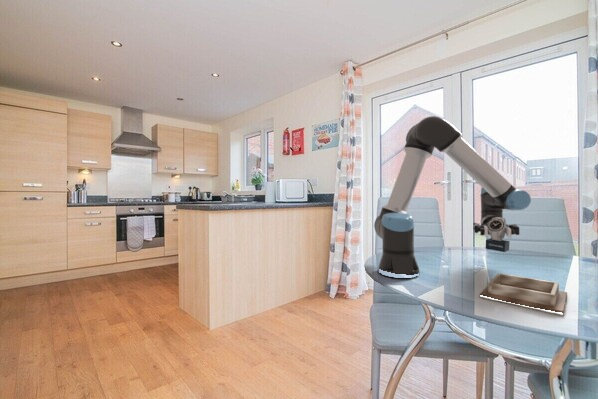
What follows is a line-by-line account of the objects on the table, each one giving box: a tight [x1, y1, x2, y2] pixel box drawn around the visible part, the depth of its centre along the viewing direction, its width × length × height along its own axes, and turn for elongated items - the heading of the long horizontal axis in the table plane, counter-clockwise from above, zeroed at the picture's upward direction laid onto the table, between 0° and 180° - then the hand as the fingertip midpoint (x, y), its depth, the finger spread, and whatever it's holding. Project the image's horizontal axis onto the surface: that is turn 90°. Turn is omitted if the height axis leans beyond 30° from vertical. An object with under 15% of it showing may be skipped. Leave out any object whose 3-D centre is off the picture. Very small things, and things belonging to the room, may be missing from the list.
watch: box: [485, 217, 510, 253], centre depth 94 cm, size 6×8×11 cm
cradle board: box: [479, 273, 568, 313], centre depth 82 cm, size 18×18×4 cm
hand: (497, 232), depth 90 cm, fingers closed on watch, 5 cm apart
